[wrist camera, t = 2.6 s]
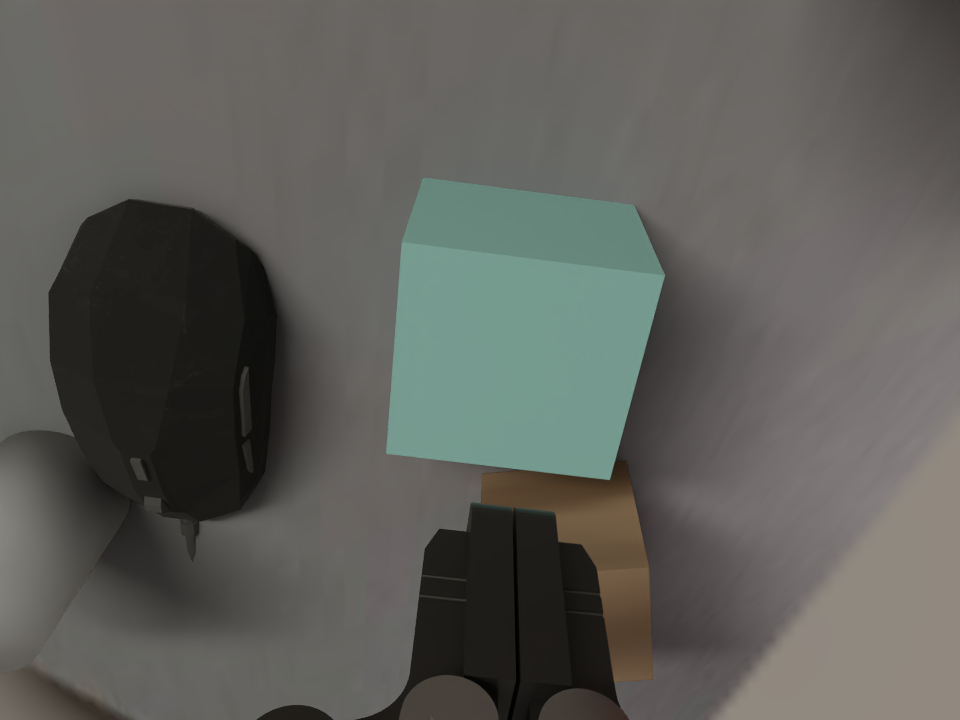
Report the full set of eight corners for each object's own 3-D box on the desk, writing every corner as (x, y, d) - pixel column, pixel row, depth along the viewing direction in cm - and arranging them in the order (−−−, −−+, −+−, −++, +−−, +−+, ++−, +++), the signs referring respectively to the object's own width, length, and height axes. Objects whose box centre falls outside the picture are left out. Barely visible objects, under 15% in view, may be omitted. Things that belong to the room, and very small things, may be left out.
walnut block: (482, 472, 26) (476, 579, 22) (625, 459, 26) (649, 566, 22) (500, 574, 29) (498, 689, 25) (631, 564, 28) (653, 679, 24)
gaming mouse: (115, 546, 29) (62, 630, 26) (65, 176, 22) (-19, 224, 18) (277, 567, 30) (245, 653, 26) (281, 208, 22) (238, 262, 19)
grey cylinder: (-25, 422, 26) (-158, 547, 21) (121, 439, 26) (25, 567, 21) (4, 530, 28) (-109, 665, 23) (137, 545, 29) (55, 682, 23)
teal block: (423, 176, 21) (402, 241, 17) (633, 203, 21) (665, 275, 17) (408, 358, 24) (386, 453, 20) (592, 380, 24) (609, 480, 20)
